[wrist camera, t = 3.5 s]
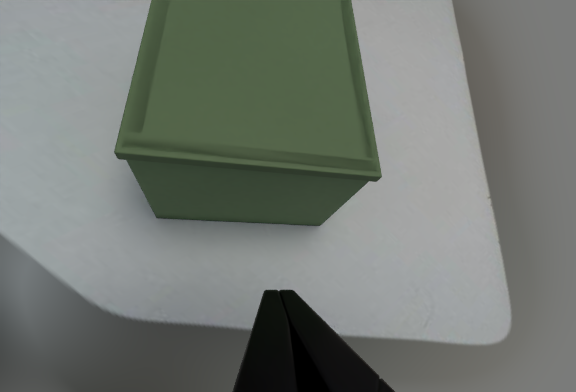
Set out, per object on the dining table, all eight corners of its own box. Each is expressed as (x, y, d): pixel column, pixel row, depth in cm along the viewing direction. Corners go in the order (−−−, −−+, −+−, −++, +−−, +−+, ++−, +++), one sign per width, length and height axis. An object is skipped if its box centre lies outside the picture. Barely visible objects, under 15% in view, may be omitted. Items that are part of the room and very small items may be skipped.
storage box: (322, 228, 23) (382, 177, 15) (152, 220, 20) (113, 152, 12) (310, 72, 29) (347, -22, 21) (181, 50, 27) (167, -68, 18)
